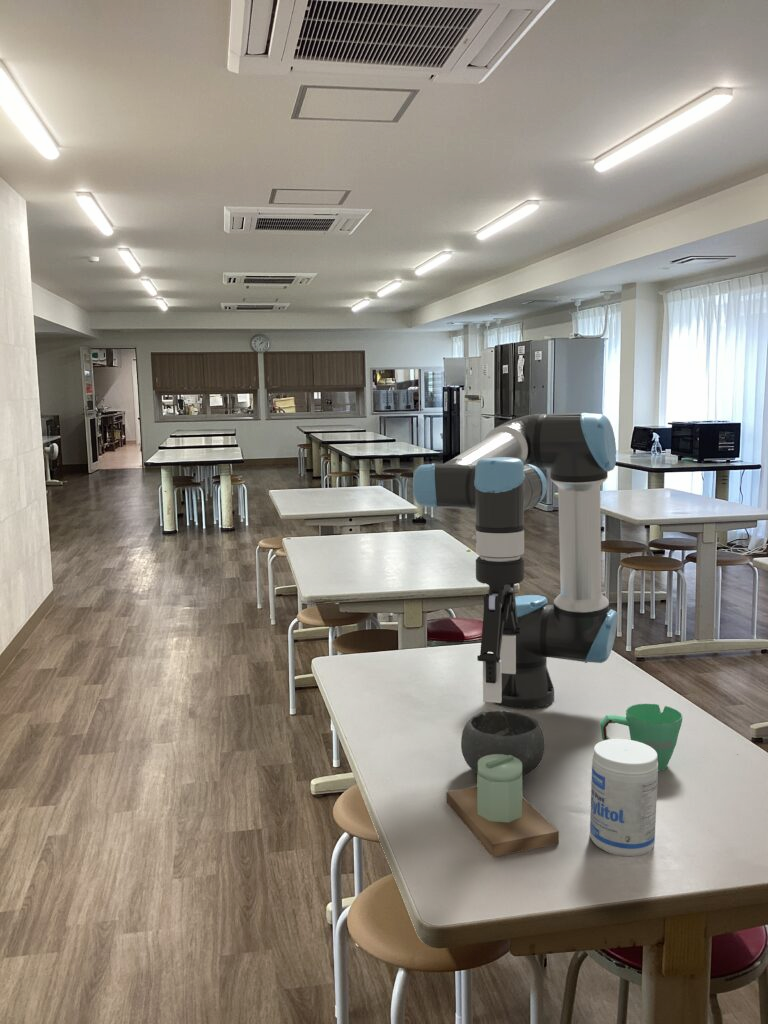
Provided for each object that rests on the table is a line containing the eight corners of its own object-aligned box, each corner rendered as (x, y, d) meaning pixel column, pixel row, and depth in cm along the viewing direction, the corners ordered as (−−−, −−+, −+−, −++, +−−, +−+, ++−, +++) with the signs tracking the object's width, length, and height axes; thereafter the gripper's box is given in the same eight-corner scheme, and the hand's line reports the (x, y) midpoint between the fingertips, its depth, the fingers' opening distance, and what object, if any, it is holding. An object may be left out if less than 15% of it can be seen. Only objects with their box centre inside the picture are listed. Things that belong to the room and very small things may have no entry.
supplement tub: (578, 844, 126) (580, 752, 124) (606, 820, 133) (608, 732, 131) (640, 866, 120) (642, 769, 118) (665, 839, 127) (668, 748, 125)
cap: (500, 796, 137) (500, 747, 136) (531, 812, 132) (531, 761, 131) (468, 809, 133) (468, 758, 132) (499, 826, 128) (499, 773, 127)
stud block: (505, 792, 143) (505, 751, 142) (558, 843, 126) (559, 797, 125) (446, 802, 140) (446, 760, 139) (492, 856, 123) (492, 809, 122)
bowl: (446, 767, 154) (446, 715, 153) (515, 752, 160) (515, 702, 158) (487, 801, 140) (487, 744, 139) (560, 784, 146) (561, 729, 145)
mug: (671, 753, 158) (672, 703, 156) (688, 776, 148) (690, 723, 147) (593, 754, 158) (594, 703, 157) (605, 777, 148) (606, 723, 147)
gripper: (490, 542, 143) (491, 660, 146) (458, 571, 120) (460, 712, 123) (534, 543, 141) (534, 664, 144) (510, 574, 117) (510, 717, 120)
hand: (500, 686), depth 133 cm, fingers open, 13 cm apart
